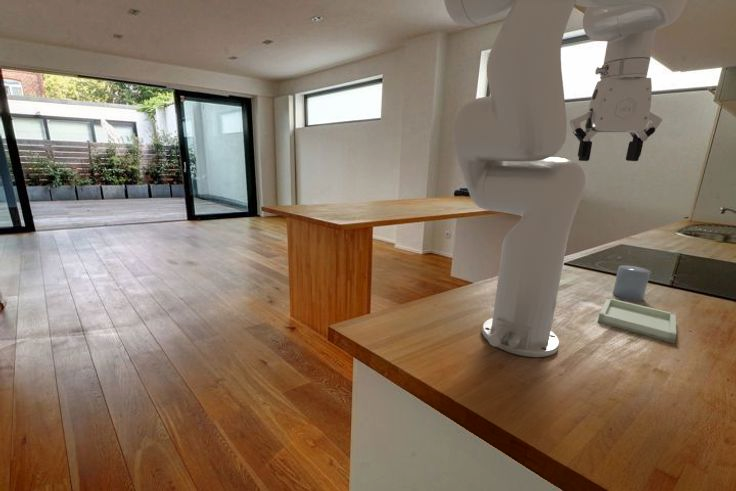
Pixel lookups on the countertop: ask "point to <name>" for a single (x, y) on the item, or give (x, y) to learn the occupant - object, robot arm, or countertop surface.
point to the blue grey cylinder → (631, 283)
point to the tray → (639, 319)
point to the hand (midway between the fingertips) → (607, 160)
